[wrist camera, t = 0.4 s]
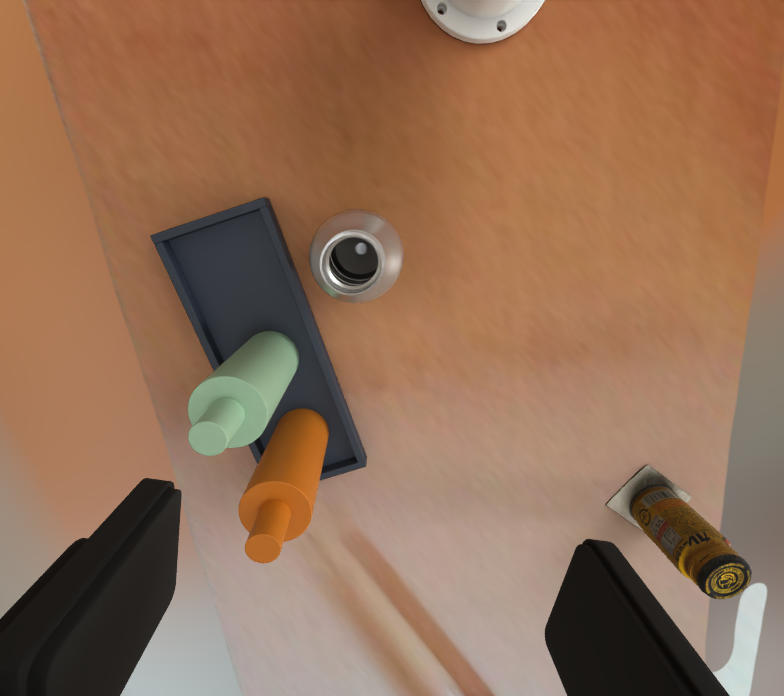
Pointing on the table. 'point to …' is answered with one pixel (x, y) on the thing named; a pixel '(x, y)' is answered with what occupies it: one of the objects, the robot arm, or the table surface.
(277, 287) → the tray
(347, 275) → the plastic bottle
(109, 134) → the table surface
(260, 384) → the sage bottle
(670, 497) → the condiment
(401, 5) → the table surface
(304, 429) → the amber bottle
